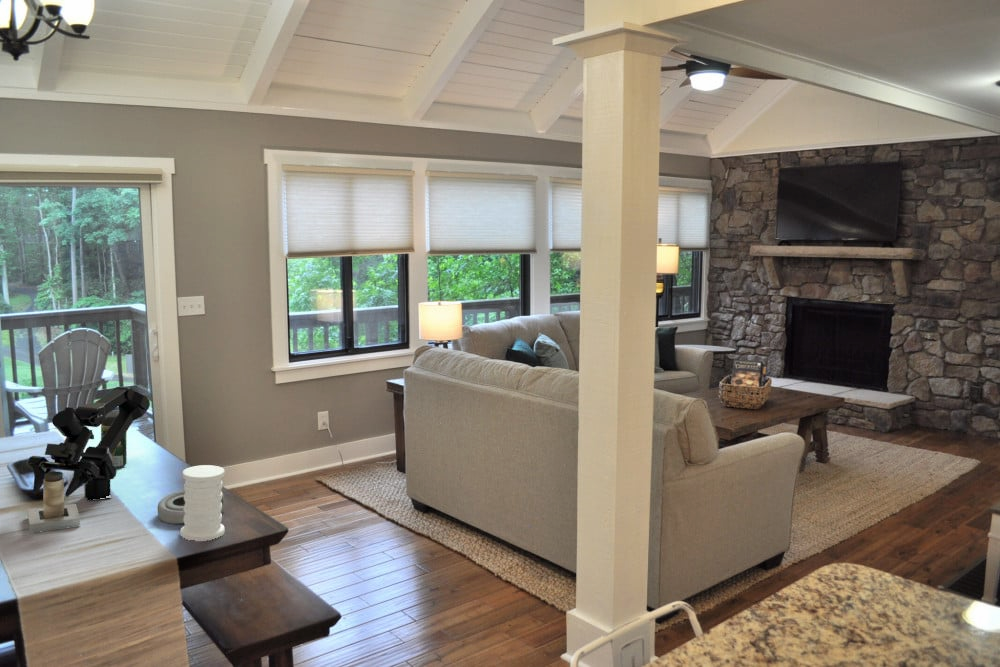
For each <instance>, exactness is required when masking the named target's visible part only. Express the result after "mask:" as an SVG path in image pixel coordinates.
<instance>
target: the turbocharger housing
mask: <svg viewBox="0 0 1000 667" xmlns="http://www.w3.org/2000/svg"><path fill="white" fill-rule="evenodd" d="M184 494H185V489H183V490H178V491H174V492H172V493H169V494H168V495H165V496H164V497H163V498H161V499H160V501H159V502H158V503H157V506H156V508H157V517H158V519H159V520H160V521H161V522H164V523H166V524H171V525H173V524H176V525H179V524H185V523H184V521H183V519H184V516H185V512H184V505H185V501H184ZM222 494H223V497H222V499H221V503H222V510H221V514H222V513H223V512H224V511H225V509H226V508H225V507H226V506H225V504H226V503H225V502H226V501H225V493H223V492H222Z"/></svg>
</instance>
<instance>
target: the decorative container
mask: <svg viewBox="0 0 1000 667" xmlns="http://www.w3.org/2000/svg"><path fill="white" fill-rule="evenodd" d="M225 474H226V473H225V468H223V467H221V466H217V465H212V464H207V465H206V464H202V465H201V464H199V465H194V466H190V467H187V468H185V469H183V470H182V478H183V480H185V482H184V484H183V490H185V494H184V501H185V505H184V512H185V516H184V519H183V521H184V523H183V524H184V526H182V527H181V528H180V532H179V534H180V537H181V536H182V537H183V538H182V537H181V538H182V539H184V538H185V539H184V540H186V539H188V540H187V541H190V540H195V541H194V542H207V540H208V541H212V539H213V540H216V539H218V537H219V538H221V537H222V536H224V535H225V532H226V529H225V525H224V524H223V523H221V522H222V520H223V515H222V513H221V510H222V503H221V499H222V497H223V494H224V493H223V491H222V489H223V486H224V483H223V480H222V479H223V478H224V477H225ZM222 493H223V494H222ZM220 536H221V537H220ZM215 538H216V539H215Z"/></svg>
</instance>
